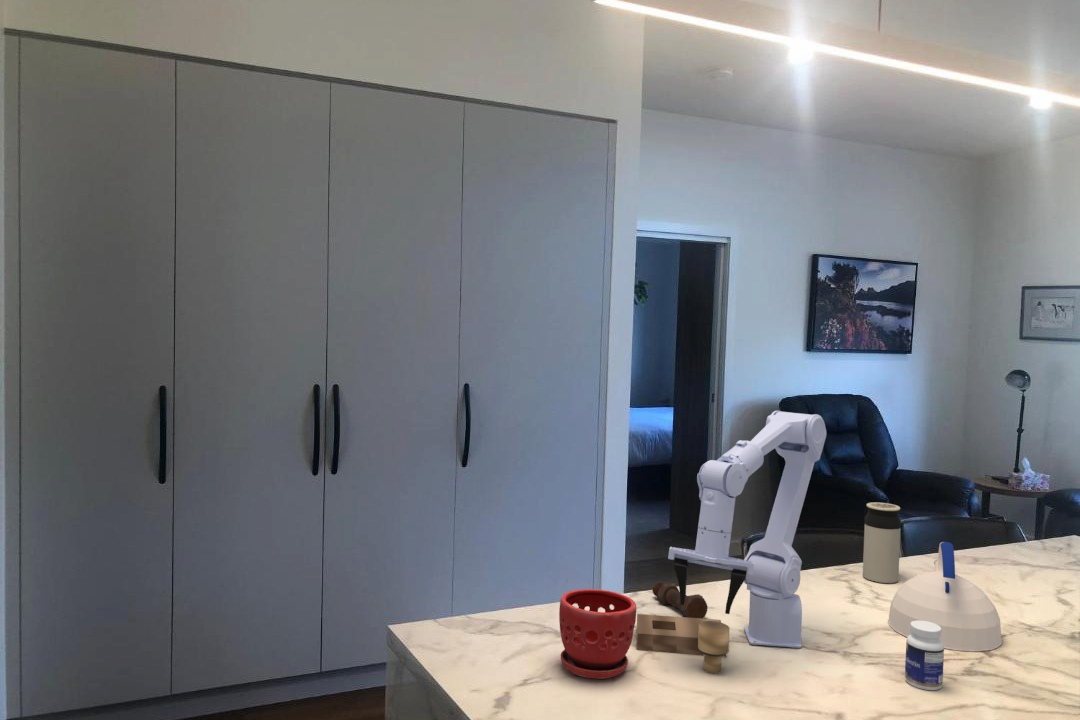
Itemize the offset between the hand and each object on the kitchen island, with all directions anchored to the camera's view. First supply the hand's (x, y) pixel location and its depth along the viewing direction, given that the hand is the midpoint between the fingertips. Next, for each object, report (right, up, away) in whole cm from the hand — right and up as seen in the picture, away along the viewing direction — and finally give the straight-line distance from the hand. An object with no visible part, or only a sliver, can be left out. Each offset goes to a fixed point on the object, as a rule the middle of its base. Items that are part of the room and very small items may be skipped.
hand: (704, 608), depth 133 cm
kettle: (+52, -11, +20) cm, 57 cm away
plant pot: (-19, -10, -1) cm, 22 cm away
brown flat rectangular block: (-2, -10, +11) cm, 15 cm away
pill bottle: (+36, -12, -4) cm, 38 cm away
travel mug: (+54, -10, +53) cm, 77 cm away
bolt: (0, -10, +29) cm, 31 cm away
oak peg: (+1, -10, -1) cm, 10 cm away
